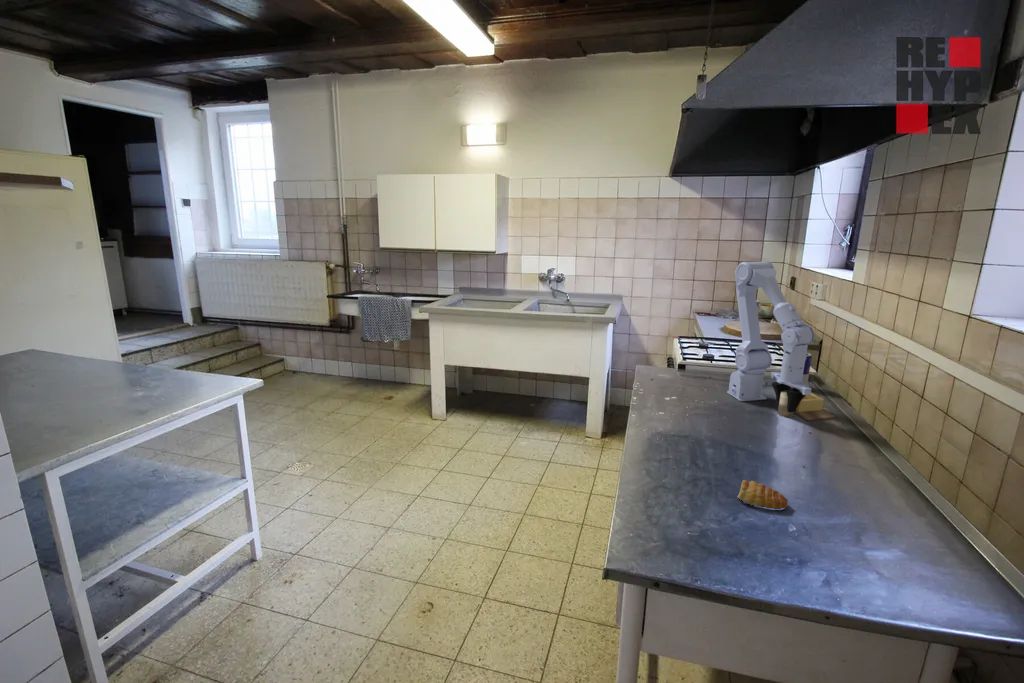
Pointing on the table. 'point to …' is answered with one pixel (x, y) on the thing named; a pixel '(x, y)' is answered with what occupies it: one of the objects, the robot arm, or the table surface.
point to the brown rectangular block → (814, 414)
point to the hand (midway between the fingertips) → (786, 408)
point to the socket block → (810, 403)
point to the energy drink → (806, 368)
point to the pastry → (761, 495)
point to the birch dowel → (784, 405)
